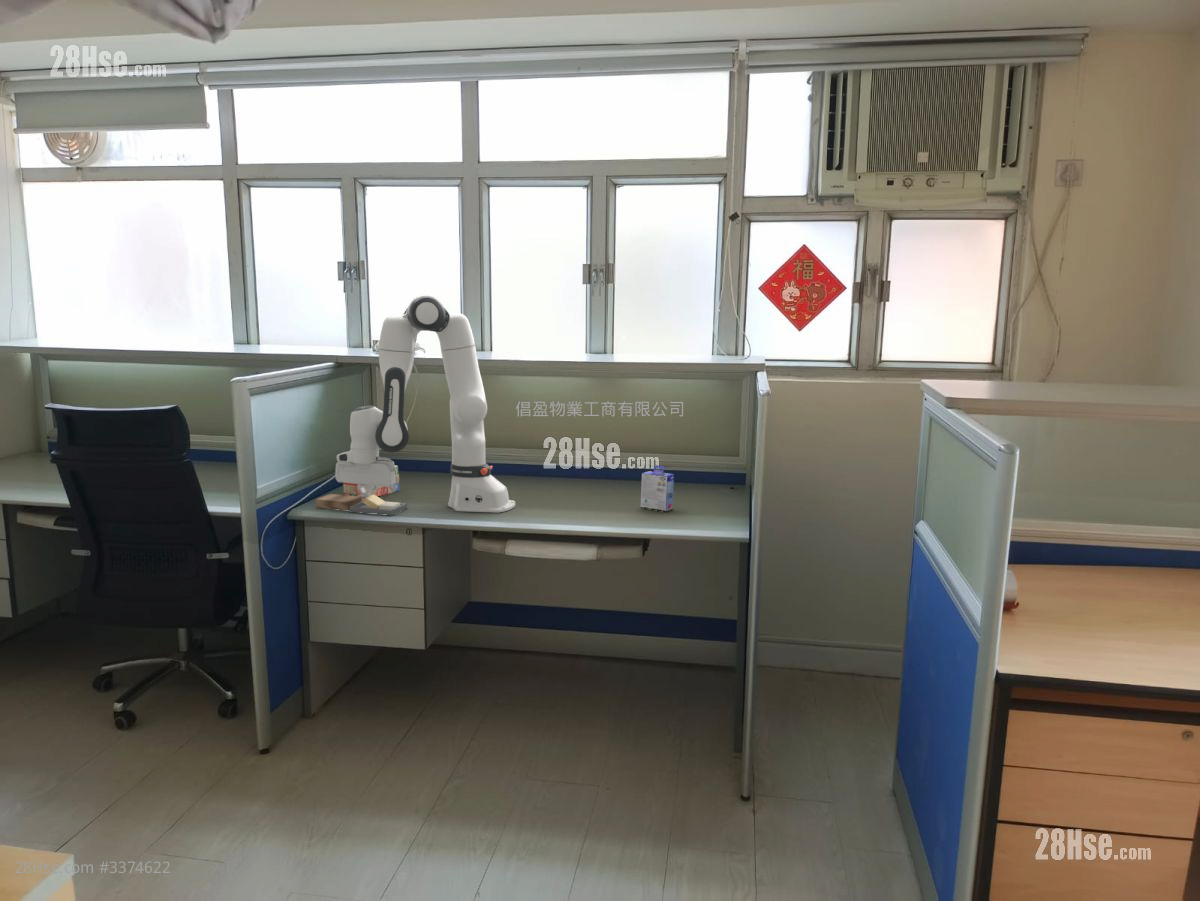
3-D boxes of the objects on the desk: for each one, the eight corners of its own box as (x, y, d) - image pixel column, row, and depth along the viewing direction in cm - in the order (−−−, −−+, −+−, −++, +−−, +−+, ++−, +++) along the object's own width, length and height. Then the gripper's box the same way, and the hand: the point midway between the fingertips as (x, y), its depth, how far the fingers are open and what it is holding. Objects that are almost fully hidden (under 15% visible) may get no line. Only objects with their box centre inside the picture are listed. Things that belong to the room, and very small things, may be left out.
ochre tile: (384, 507, 265) (386, 502, 264) (376, 510, 260) (378, 505, 260) (371, 499, 266) (373, 494, 265) (363, 503, 261) (365, 497, 260)
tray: (406, 508, 266) (406, 503, 266) (391, 516, 256) (391, 510, 256) (366, 505, 270) (366, 499, 269) (349, 512, 260) (349, 506, 260)
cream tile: (386, 501, 264) (386, 507, 265) (378, 505, 260) (378, 511, 260) (400, 502, 263) (400, 508, 263) (392, 506, 258) (392, 512, 259)
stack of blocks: (386, 489, 294) (385, 455, 292) (399, 491, 291) (398, 457, 289) (343, 501, 275) (342, 465, 273) (357, 503, 272) (356, 467, 270)
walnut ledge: (362, 505, 269) (361, 496, 269) (348, 511, 262) (348, 502, 261) (330, 502, 272) (329, 493, 272) (316, 508, 265) (315, 499, 264)
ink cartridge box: (673, 509, 272) (675, 466, 269) (666, 512, 267) (667, 469, 264) (647, 505, 277) (648, 463, 274) (640, 508, 272) (641, 466, 269)
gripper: (398, 456, 261) (399, 498, 264) (343, 452, 267) (344, 492, 269) (388, 460, 255) (389, 502, 258) (331, 455, 261) (333, 497, 263)
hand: (366, 497), depth 264 cm, fingers closed
